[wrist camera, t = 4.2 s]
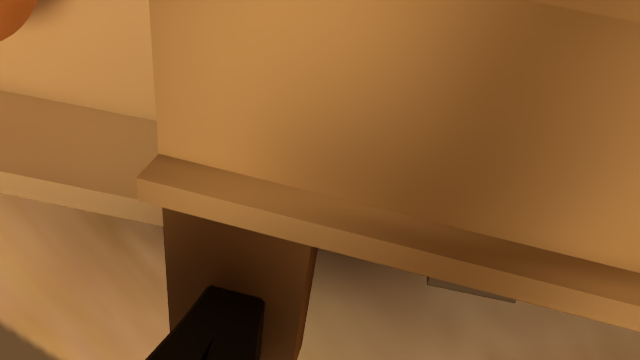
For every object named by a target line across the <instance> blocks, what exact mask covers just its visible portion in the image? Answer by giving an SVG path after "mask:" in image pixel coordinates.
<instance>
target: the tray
mask: <svg viewBox="0 0 640 360" xmlns="http://www.w3.org/2000/svg"><path fill="white" fill-rule="evenodd" d="M158 154H159V152H158V136H157V121H156V105H155V89H154V74H153V58H152V43H151V27H150V11H149V0H37V2H36V5H35V7H34V10H33V12H32V14H31V15H30V17H29V18H28V20H27V21H26V22H25V24H24V25H23V26H22V27H21V28H20V29H19V30H18V31H16V32H15V33H14V34H13V35H11V36H9V37H8V38H6V39H4V40H2V41H0V193H3V194H8V195H12V196H17V197H22V198H27V199H32V200H36V201H41V202H46V203H51V204H56V205H60V206H65V207H70V208H75V209H80V210H84V211H89V212H94V213H99V214H104V215H108V216H113V217H118V218H123V219H128V220H133V221H137V222H142V223H147V224H152V225H157V226H161V227H163V214H162V207H159V206H155V205H151V204H148V203H144V202H140V201H138V194H137V183H136V177H137V176H138V175H139V174H140V173H141V172H142V171H143V170H144V169H145V168H146V167H147V166H148V165H149V163H150V162H151V161H152V160H153V159H154V158H155V157H156V156H157V155H158Z"/></svg>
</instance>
